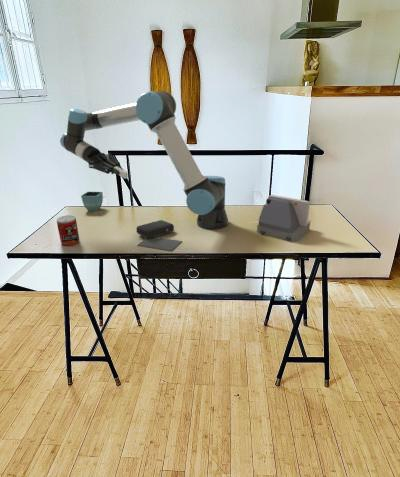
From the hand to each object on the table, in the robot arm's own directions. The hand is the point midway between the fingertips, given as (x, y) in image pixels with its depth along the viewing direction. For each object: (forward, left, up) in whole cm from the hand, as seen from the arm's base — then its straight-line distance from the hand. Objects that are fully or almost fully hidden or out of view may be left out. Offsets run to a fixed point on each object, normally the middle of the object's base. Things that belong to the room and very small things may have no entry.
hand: (126, 175), depth 148 cm
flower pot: (+37, -21, -27) cm, 50 cm away
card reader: (-8, +5, -24) cm, 25 cm away
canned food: (+19, +19, -27) cm, 38 cm away
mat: (-18, +7, -26) cm, 33 cm away
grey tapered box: (-64, -25, -27) cm, 74 cm away
